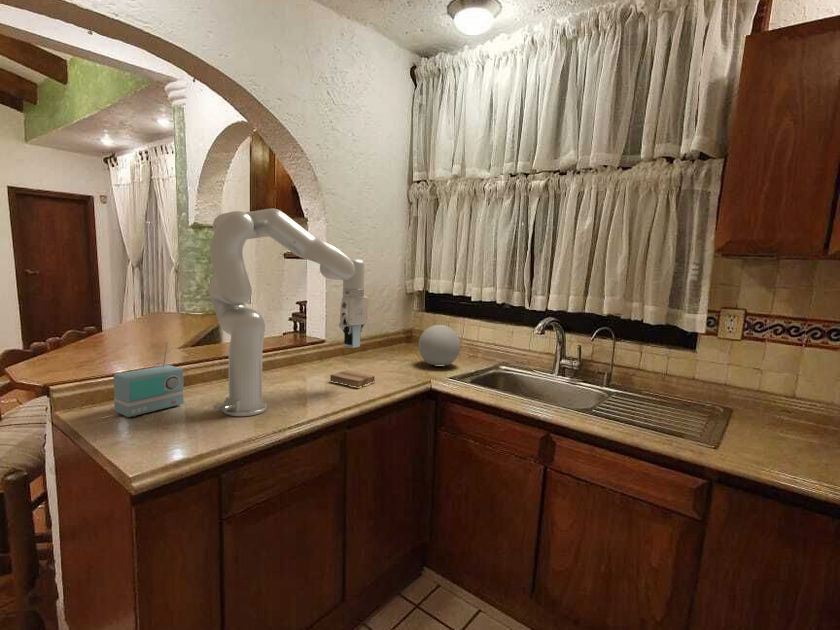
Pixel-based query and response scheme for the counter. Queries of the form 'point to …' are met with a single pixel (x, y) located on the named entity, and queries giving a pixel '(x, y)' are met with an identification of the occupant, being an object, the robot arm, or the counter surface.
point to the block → (355, 336)
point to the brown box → (352, 378)
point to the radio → (148, 389)
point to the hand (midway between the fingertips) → (352, 342)
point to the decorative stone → (439, 345)
